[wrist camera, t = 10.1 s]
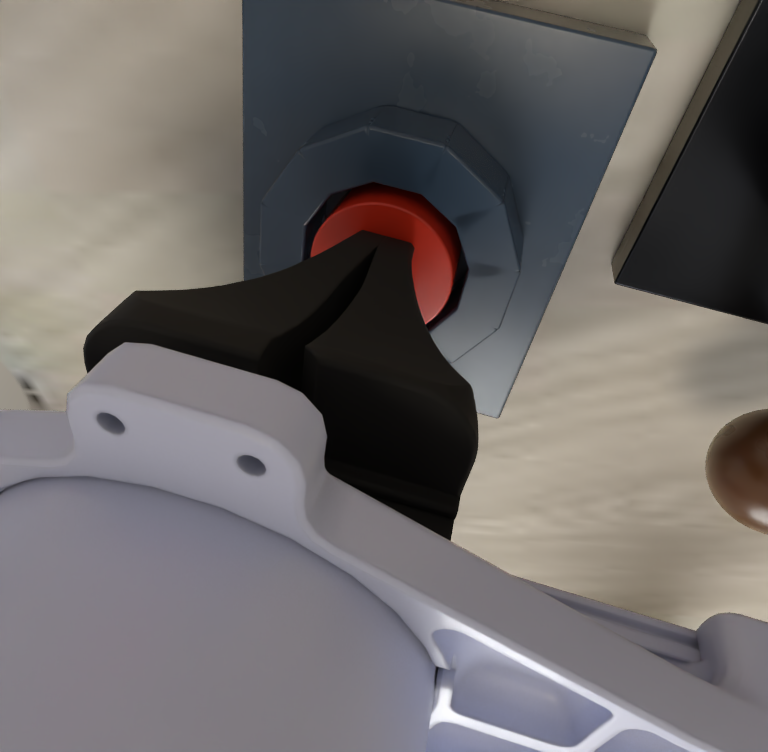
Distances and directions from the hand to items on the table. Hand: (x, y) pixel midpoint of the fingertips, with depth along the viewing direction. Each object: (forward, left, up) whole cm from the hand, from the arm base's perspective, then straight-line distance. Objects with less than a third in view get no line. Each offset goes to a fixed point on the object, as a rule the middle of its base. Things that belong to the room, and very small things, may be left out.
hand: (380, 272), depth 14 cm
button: (0, 0, -2) cm, 2 cm away
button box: (0, 0, -4) cm, 4 cm away
